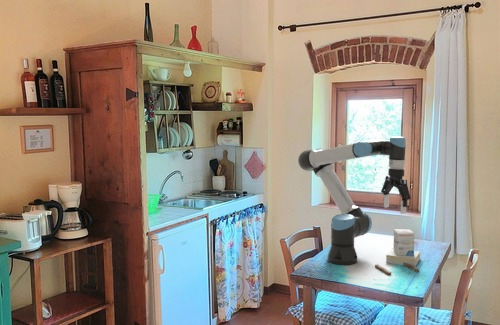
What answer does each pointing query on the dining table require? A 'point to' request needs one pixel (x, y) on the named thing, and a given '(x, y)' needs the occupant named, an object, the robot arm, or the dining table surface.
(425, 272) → the dining table surface
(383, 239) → the dining table surface
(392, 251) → the block
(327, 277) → the dining table surface
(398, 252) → the ink box
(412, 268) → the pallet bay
